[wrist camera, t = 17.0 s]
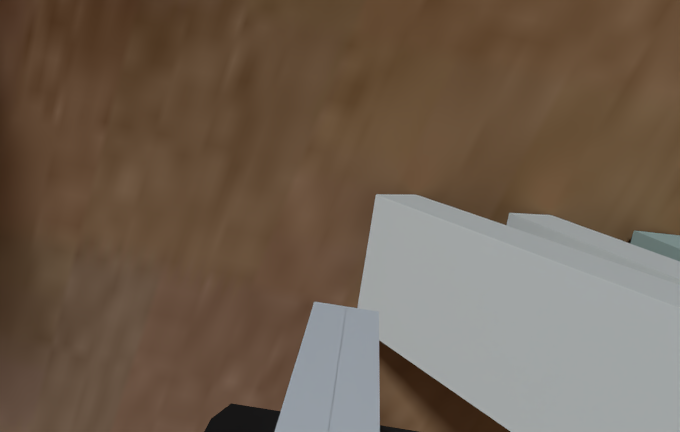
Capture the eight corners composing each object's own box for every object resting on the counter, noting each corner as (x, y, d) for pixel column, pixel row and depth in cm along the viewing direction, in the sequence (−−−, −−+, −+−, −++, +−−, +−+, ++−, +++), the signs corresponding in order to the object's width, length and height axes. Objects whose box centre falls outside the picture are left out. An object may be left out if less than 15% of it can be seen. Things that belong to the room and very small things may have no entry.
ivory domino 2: (550, 215, 20) (968, 365, 10) (521, 336, 21) (872, 574, 12) (509, 212, 19) (920, 374, 10) (481, 339, 20) (822, 598, 11)
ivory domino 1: (416, 194, 20) (760, 312, 12) (394, 316, 21) (694, 502, 13) (375, 194, 19) (727, 325, 11) (354, 323, 20) (657, 533, 12)
